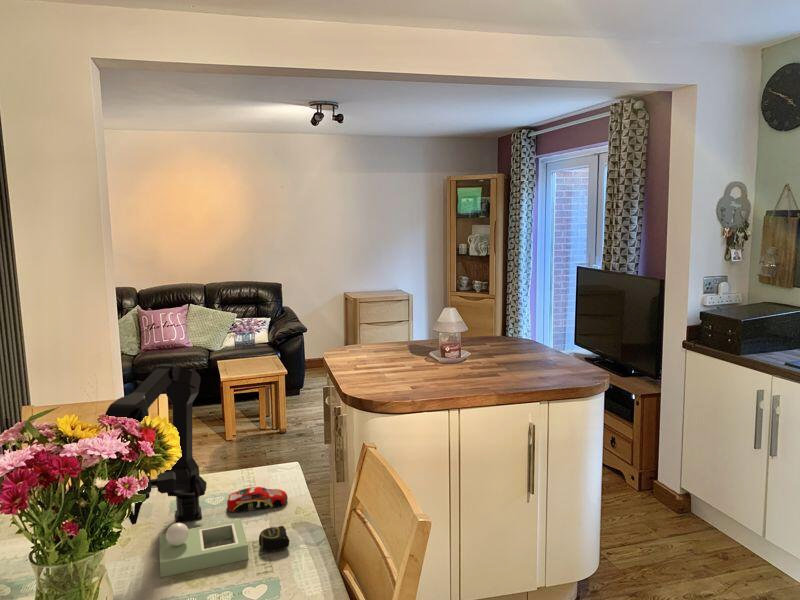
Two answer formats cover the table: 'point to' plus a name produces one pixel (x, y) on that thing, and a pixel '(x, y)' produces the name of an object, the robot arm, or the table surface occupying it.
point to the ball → (177, 534)
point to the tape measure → (273, 539)
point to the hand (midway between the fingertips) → (134, 523)
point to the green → (193, 550)
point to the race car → (255, 499)
